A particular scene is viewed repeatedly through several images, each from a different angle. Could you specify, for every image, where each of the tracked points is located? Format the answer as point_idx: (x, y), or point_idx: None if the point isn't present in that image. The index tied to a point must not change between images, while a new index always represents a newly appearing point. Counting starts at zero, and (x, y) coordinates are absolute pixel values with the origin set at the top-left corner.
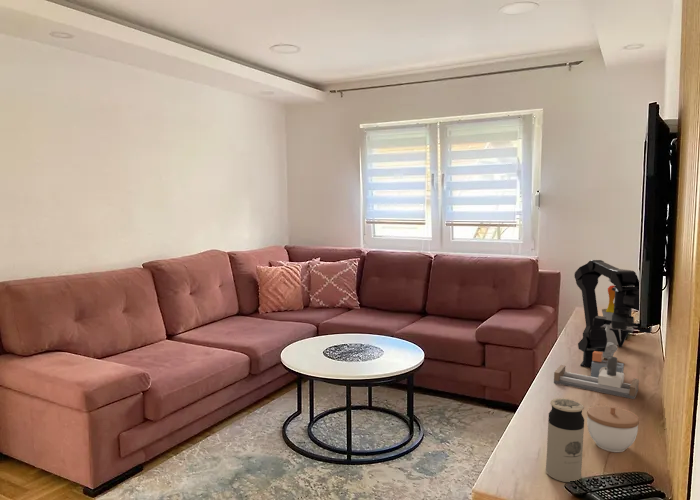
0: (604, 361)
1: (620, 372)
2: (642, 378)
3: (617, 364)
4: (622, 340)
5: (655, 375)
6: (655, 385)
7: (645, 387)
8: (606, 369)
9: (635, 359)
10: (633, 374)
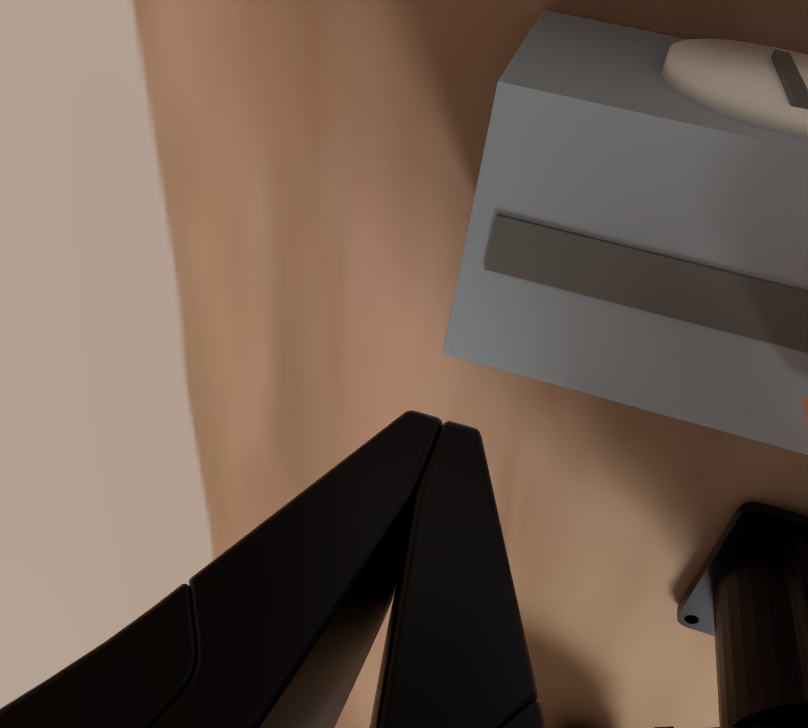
0: (762, 378)
1: (525, 59)
2: (294, 334)
3: (551, 265)
4: (290, 570)
5: (203, 443)
6: (157, 151)
7: (237, 15)
8: (783, 93)
9: (366, 722)
10: (377, 424)
